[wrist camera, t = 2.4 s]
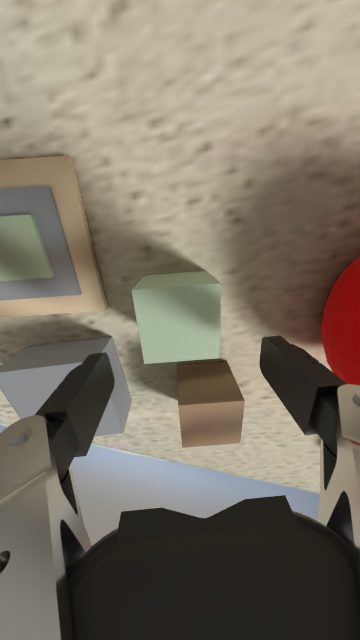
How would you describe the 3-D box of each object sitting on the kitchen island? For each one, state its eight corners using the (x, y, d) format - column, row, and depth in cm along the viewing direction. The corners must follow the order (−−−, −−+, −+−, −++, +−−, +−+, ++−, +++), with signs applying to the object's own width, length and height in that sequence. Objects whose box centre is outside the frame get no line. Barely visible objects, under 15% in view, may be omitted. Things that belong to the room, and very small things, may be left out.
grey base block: (29, 345, 17) (-11, 373, 13) (113, 334, 17) (96, 360, 13) (61, 406, 20) (37, 442, 16) (132, 398, 20) (123, 432, 16)
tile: (-86, 170, 11) (-113, 163, 10) (72, 159, 11) (61, 150, 10) (-10, 316, 15) (-24, 322, 14) (107, 307, 15) (102, 312, 14)
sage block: (144, 275, 15) (131, 290, 10) (206, 270, 15) (221, 283, 10) (152, 330, 17) (144, 363, 12) (206, 326, 17) (219, 358, 12)
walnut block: (177, 364, 18) (178, 405, 14) (226, 360, 18) (244, 400, 14) (180, 400, 20) (182, 447, 16) (224, 397, 20) (240, 443, 16)
